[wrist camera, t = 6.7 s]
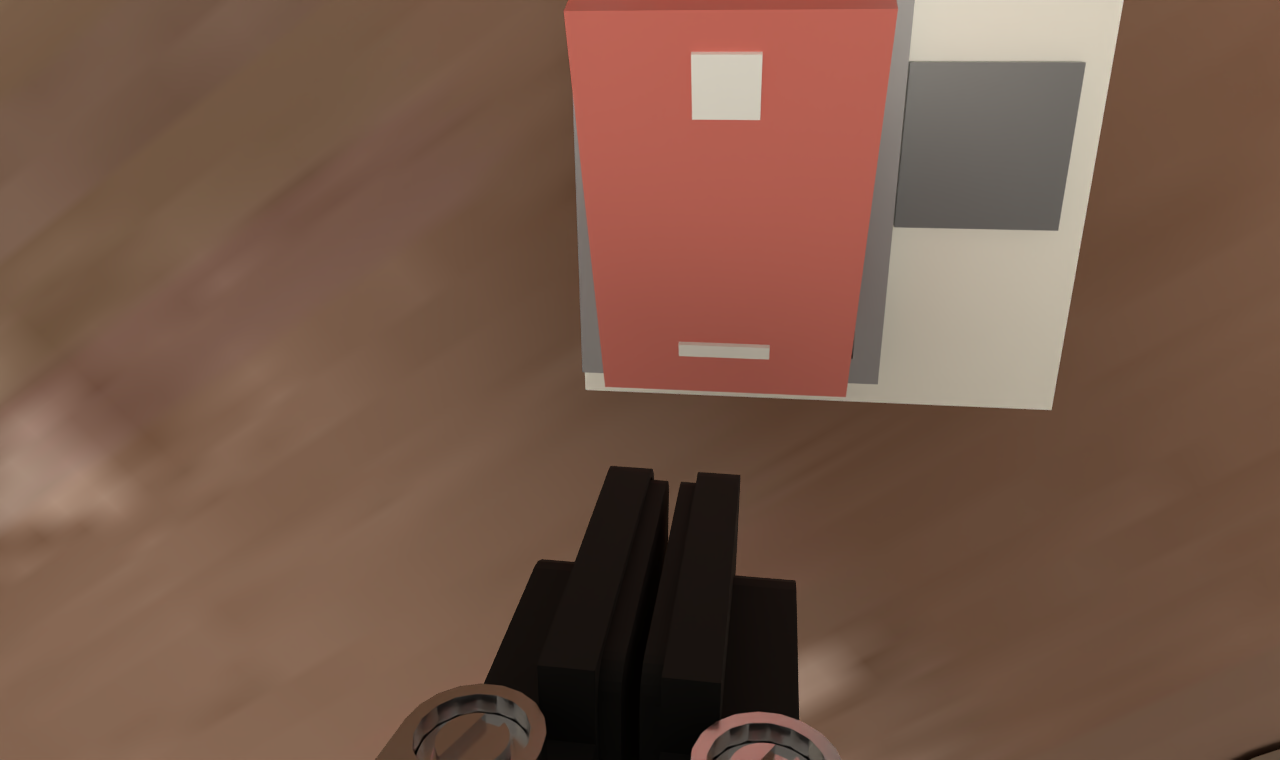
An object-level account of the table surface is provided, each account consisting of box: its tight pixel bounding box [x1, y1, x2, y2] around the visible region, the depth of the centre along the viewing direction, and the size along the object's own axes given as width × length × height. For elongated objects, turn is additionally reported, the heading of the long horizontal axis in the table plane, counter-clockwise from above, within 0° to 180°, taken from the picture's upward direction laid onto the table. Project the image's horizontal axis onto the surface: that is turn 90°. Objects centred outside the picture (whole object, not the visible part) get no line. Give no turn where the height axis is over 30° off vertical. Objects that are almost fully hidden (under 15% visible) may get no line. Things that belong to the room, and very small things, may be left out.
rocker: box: [564, 0, 898, 397], centre depth 18 cm, size 5×8×3 cm, turn 1°
